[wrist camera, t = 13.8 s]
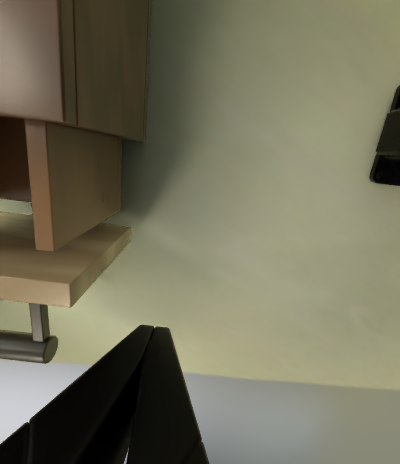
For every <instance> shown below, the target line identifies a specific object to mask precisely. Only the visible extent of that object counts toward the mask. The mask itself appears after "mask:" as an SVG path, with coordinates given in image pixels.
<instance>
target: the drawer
mask: <svg viewBox="0 0 400 464" xmlns="http://www.w3.org/2000/svg"><path fill="white" fill-rule="evenodd" d="M121 167H122V137H118V136H113V135H108V134H104V133H99V132H94V131H90V130H85V129H80V128H76V127H71V126H66V125H61V124H57V123H50V122H41V121H33V120H25V119H16V118H8V117H0V199H9V200H17V201H26V202H32V210H33V216H31V215H23V214H14V213H6V212H0V299H1V300H9V301H18V302H26V303H29V307H30V316H31V326H32V333H25V332H16V331H8V330H0V358H1V359H10V360H18V361H27V362H36V363H45V364H46V363H49V362H50V361H51V360H52V358H53V357H54V355H55V353H56V351H57V347H58V338H57V337H56V336H51V335H50V331H49V318H48V306H47V305H52V306H61V307H69V308H70V307H72V306H73V305H74V304H75V303H76V301H77V300H78V299H79V298H80V297H81V296H82V295H83V294H84V293H85V291H86V290H87V289H88V288H89V287H90V286H91V285H92V284H93V283H94V281H95V280H96V279H97V278H98V277H99V276H100V275H101V274H102V273H103V271H104V270H105V269H106V268H107V267H108V266H109V265H110V264H111V263H112V261H113V260H114V259H115V258H116V257H117V256H118V255H119V254H120V253H121V251H122V250H123V249H124V248H125V247H126V246H127V245H128V244H129V243H130V241H131V227H125V226H116V225H108V224H99V223H101V222H102V221H104V220H106V219H107V218H109V217H110V216H112V215H114V214H115V213H117V212H118V211H120V210H121Z"/></svg>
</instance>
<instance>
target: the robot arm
mask: <svg viewBox="0 0 400 464" xmlns="http://www.w3.org/2000/svg"><path fill="white" fill-rule="evenodd" d="M376 152H377V153H376V157H375V160H374V163H373V166H372V169H371V173H370V177H369V178H370V180H371V181H372V182H374V183H380V184H389V185H397V186H400V85H399V86H398V88H397V90H396V93H395V96H394V99H393V102H392V105H391V109H390V112H389V113H388V114H387V117H386V120H385V123H384V127H383V130H382V133H381V136H380V139H379V143H378V146H377V149H376ZM378 173H380V177H379V178H378V179H377V174H378ZM201 441H202V438H201V434H200V431H199V428H198V424H197V421H196V417H195V414H194V411H193V407H192V404H191V400H190V397H189V394H188V390H187V387H186V383H185V380H184V377H183V373H182V370H181V366H180V363H179V360H178V356H177V353H176V349H175V346H174V342H173V339H172V336H171V332H170V329H169V328H167V327H158V326H157V327H155V328H154V326H150V325H140V326H138V327H137V328H136V329H135V330H134V331H132V332H131V333H130V334H129V335H128V336H127V337H125V338H124V339H123V340H122V341H121V342H120V343H118V344H117V345H116V346H115V347H114V348H113V349H111V350H110V351H109V352H108V353H107V354H106V355H104V356H103V357H102V358H101V359H100V360H99V361H97V362H96V363H95V364H94V365H93V366H92V367H90V368H89V369H88V370H87V371H86V372H85V373H83V374H82V375H81V376H80V377H79V378H77V379H76V380H75V381H74V382H73V383H72V384H71V385H69V386H68V387H67V388H66V389H65V390H63V391H62V392H61V393H60V394H59V395H58V396H56V397H55V398H54V399H53V400H52V401H51V402H50V403H48V404H47V405H46V406H45V407H44V408H42V409H41V410H40V411H39V412H38V413H37V414H35V415H34V416H33V417H32V418H31V419H30V421H29V423H28V422H26V423H25V424H23V425H22V426H21V427H20V428H19V429H18V430H17V431H15V432H14V433H13V434H12V435H11V436H9V437H8V438H7V439H6V440H5V441H3V442H2V443H1V444H0V464H124V461H125V458H126V454H127V452H128V457H127V463H126V464H209V461H208V457H207V454H206V451H205V447H204V444H203V442H201ZM128 449H129V450H128Z"/></svg>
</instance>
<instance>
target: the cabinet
mask: <svg viewBox="0 0 400 464" xmlns="http://www.w3.org/2000/svg"><path fill="white" fill-rule="evenodd" d="M151 9H152V0H0V117H8V118H16V119H25V120H33V121H41V122H50V123H57V124H61V125H66V126H71V127H76V128H80V129H85V130H90V131H94V132H99V133H104V134H108V135H113V136H118V137H122V139H129V140H138V141H146V119H147V97H148V75H149V53H150V31H151Z"/></svg>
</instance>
